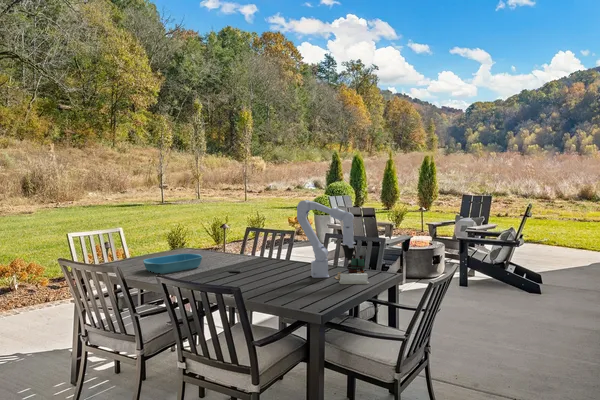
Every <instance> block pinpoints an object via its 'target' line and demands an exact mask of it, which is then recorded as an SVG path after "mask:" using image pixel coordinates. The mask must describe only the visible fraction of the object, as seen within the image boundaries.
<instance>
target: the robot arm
mask: <svg viewBox="0 0 600 400" xmlns="http://www.w3.org/2000/svg"><path fill="white" fill-rule="evenodd" d="M312 210H316V211H320V212H323V213H326V214H329V217H330V218H333V219H335V220H338V221H342V223H343V225H342V235H343V236H342V245H341V247H342V249H343V252H344V258H345V259H347V261H351V260H352V258H353V254H354V252H355V250H356V247H354V245H355V244H356V243H357V242H356V241H354V238H355V237H354V233H355V232H354V231H355V230H354V218H355V216H354V214H353V213H352V212H351V211H347V210H342V209H340V208H339V207H337V206H336V207H332V208H330V207H329V206H326V205H324V204H321V203H319V202H316V201H313V200H309V199H305V200H300V201H299V202H298V203H297V207H296V220H297V222H298V224H299V225H300V227H301V229H302V231H303V232H304V235H305V236H306V238H307V241H308V242H309V243H310V245H311V247H312V251H313V255H314V258H315V259H314V260H311V261H310V262H311V263H310V264H311V265H310V269H311V270H310V275H311V277H312V278H313V279H314V278H315V279H316V278H318V279H319V278H330V275H329V259H328V256H329V251H328V249H327V247H325V245H324V244H323V243H321V241H320V240H319V237H318V236H317V234H316V232H315V230H314V229H313V227H312V225H311V223H310V221H309V220H308V218H307V217H308V216H309V213H310V211H312Z"/></svg>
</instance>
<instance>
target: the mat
mask: <svg viewBox="0 0 600 400" xmlns="http://www.w3.org/2000/svg"><path fill="white" fill-rule="evenodd" d="M338 282H339V284H340V285H362V284H363V285H365V284H366V285H369V284H370V282H369V281H368V282H340V280H338Z"/></svg>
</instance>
